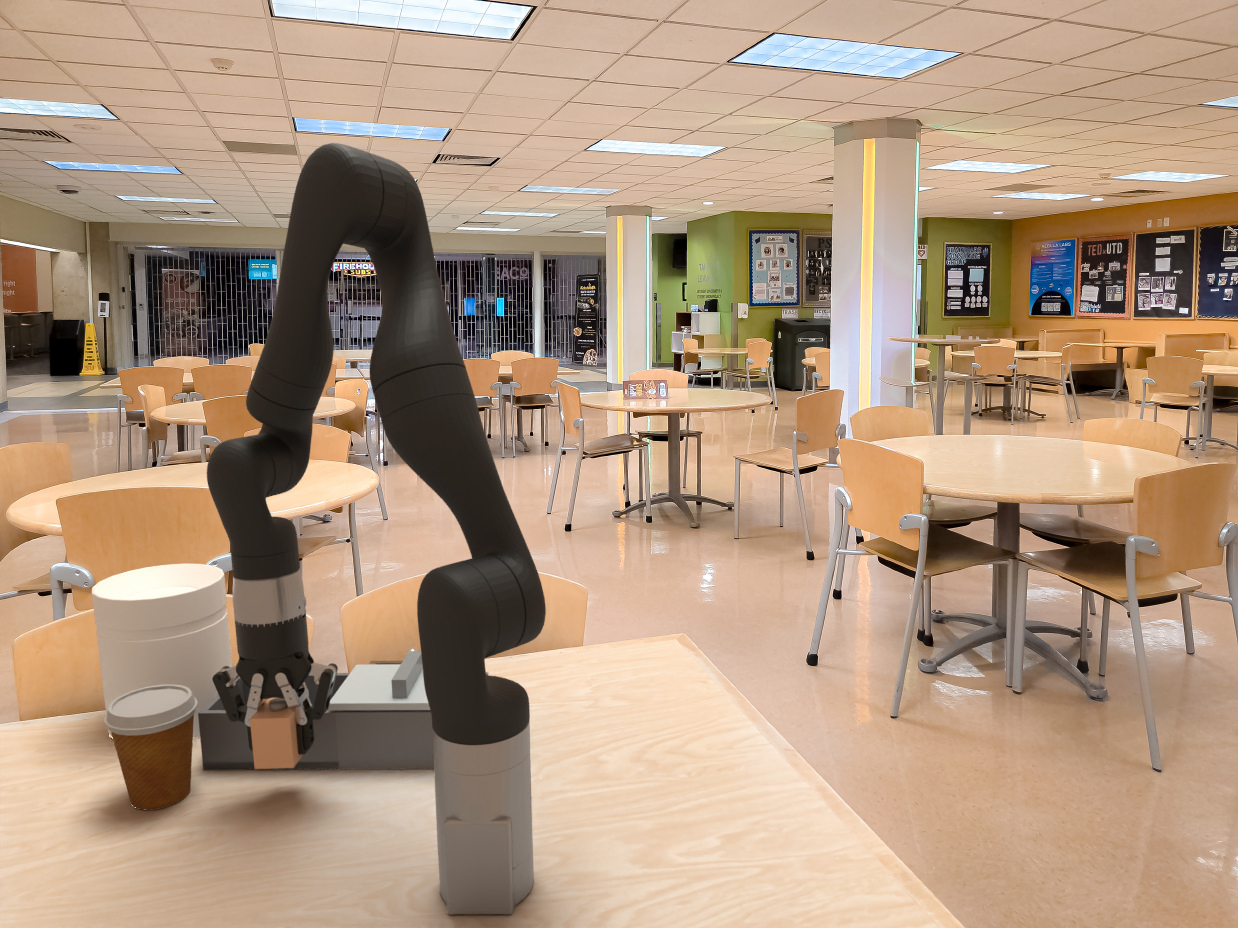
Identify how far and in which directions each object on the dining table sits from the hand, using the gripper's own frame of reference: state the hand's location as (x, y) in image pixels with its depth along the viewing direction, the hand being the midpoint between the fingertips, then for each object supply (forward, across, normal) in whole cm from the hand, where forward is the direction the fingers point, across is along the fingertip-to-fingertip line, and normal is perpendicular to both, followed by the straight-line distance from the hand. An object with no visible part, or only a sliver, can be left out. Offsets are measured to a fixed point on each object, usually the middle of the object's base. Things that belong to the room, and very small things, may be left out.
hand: (282, 751), depth 102 cm
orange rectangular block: (+1, 0, 0) cm, 1 cm away
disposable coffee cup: (+6, -15, 0) cm, 16 cm away
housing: (+5, +5, +12) cm, 14 cm away
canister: (+5, -23, +20) cm, 31 cm away
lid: (-2, +12, +12) cm, 17 cm away
